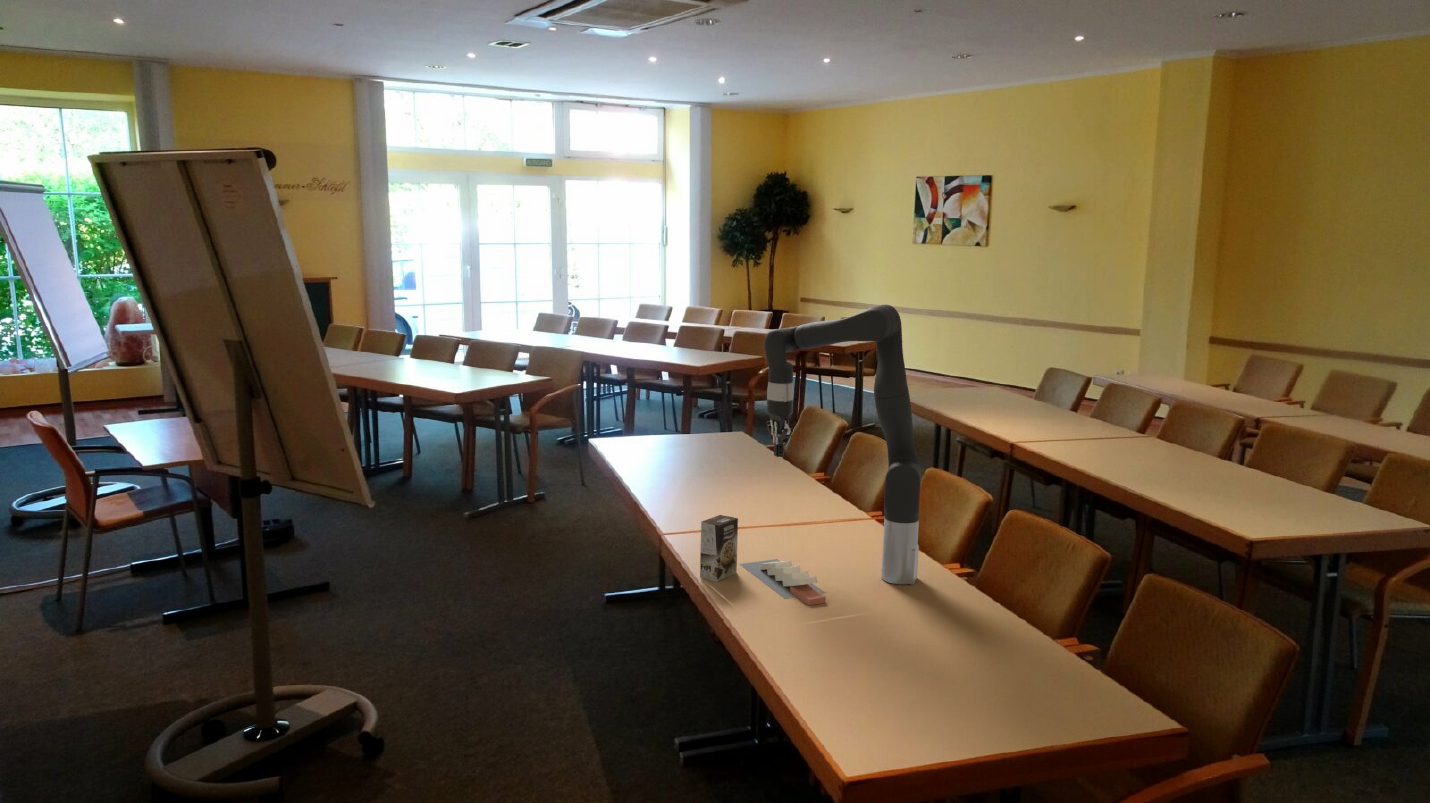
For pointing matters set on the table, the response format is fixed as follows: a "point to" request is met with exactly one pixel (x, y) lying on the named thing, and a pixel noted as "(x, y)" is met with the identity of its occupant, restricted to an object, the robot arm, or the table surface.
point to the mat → (772, 579)
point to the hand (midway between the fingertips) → (778, 456)
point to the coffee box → (718, 547)
